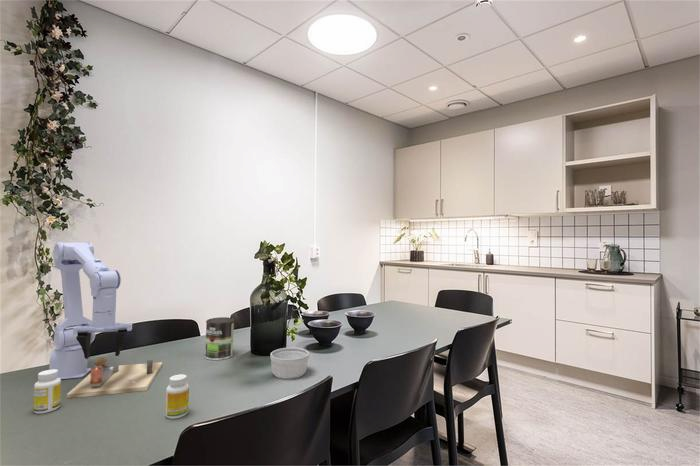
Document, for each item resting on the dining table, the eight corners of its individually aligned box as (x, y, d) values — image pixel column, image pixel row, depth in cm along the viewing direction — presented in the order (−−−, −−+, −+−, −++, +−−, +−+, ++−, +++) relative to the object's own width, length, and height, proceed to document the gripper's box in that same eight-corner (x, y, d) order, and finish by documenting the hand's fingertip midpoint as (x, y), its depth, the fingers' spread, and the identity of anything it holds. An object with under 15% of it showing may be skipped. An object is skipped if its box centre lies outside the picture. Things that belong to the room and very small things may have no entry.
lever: (106, 369, 117) (107, 352, 117) (120, 368, 118) (120, 351, 118) (86, 389, 101) (86, 369, 101) (102, 387, 102) (102, 368, 103)
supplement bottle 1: (57, 402, 96) (59, 366, 96) (62, 408, 93) (63, 371, 93) (31, 409, 92) (32, 372, 92) (35, 416, 88) (36, 377, 89)
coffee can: (223, 361, 131) (224, 323, 131) (199, 359, 133) (200, 321, 134) (238, 353, 141) (239, 318, 141) (215, 351, 143) (216, 316, 144)
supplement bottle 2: (162, 414, 91) (163, 376, 91) (183, 407, 94) (184, 371, 95) (169, 421, 87) (171, 382, 87) (191, 414, 91) (192, 377, 91)
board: (66, 398, 98) (67, 379, 99) (97, 370, 119) (97, 354, 120) (146, 390, 105) (147, 372, 105) (162, 365, 125) (162, 350, 126)
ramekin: (314, 369, 125) (314, 349, 125) (299, 383, 112) (299, 361, 112) (280, 364, 128) (281, 345, 129) (262, 378, 116) (263, 357, 116)
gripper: (69, 314, 99) (67, 363, 98) (129, 312, 104) (127, 357, 104) (78, 310, 105) (76, 355, 105) (134, 307, 111) (132, 350, 110)
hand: (102, 356), depth 105 cm, fingers open, 7 cm apart
